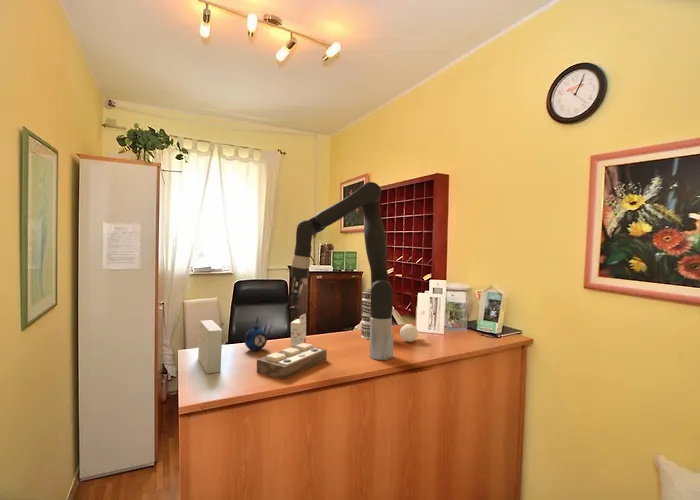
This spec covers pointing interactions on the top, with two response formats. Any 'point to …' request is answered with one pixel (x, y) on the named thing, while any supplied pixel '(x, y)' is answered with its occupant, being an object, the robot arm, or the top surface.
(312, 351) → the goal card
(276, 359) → the button left
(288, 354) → the button middle
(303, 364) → the button panel
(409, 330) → the white rounded piece
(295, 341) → the ink cartridge box
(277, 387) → the top surface
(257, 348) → the bomb
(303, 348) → the button right
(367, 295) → the decorative candle
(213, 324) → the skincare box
